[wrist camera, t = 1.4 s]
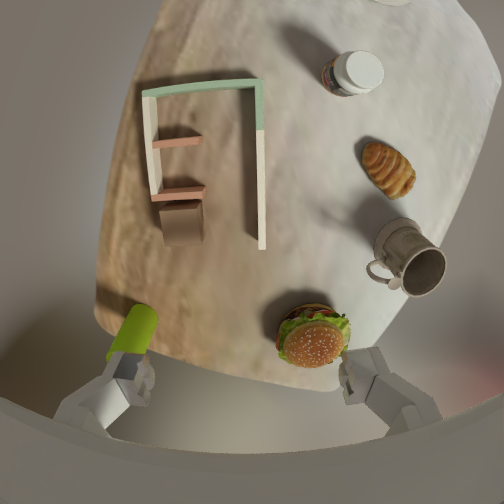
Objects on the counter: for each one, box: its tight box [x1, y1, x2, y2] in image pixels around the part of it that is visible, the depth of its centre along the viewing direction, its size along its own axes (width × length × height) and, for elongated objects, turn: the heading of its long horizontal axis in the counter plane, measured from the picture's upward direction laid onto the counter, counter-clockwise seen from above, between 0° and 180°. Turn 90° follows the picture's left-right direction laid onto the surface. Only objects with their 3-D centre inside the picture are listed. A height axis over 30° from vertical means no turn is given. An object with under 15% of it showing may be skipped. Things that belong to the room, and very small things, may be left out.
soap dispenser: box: [106, 304, 158, 363], centre depth 42 cm, size 6×7×20 cm
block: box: [159, 201, 205, 247], centre depth 41 cm, size 6×6×4 cm
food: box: [276, 303, 351, 368], centre depth 49 cm, size 14×14×8 cm
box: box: [142, 79, 266, 250], centre depth 37 cm, size 24×16×3 cm, turn 2°
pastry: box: [362, 143, 416, 200], centre depth 37 cm, size 9×7×4 cm
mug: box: [366, 218, 447, 297], centre depth 39 cm, size 14×10×12 cm
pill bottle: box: [322, 51, 384, 97], centre depth 28 cm, size 6×6×10 cm
